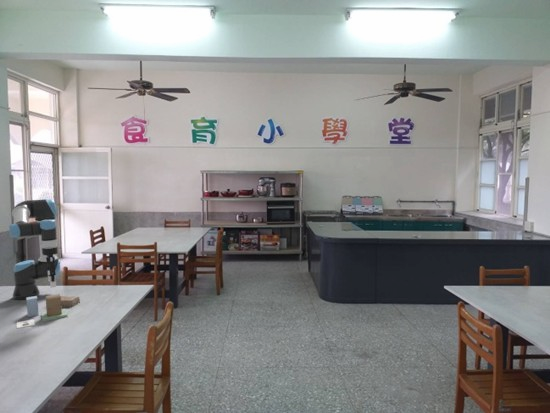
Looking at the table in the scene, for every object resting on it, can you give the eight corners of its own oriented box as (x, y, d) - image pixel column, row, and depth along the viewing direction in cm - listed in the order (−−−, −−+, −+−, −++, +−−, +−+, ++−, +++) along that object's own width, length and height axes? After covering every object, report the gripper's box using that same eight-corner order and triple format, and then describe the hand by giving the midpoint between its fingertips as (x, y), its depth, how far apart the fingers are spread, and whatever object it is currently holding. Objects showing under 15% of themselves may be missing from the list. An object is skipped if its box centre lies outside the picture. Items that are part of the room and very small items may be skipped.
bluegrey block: (27, 314, 225) (26, 297, 224) (38, 312, 228) (36, 295, 227) (27, 317, 220) (26, 299, 220) (38, 315, 223) (37, 298, 222)
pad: (41, 315, 223) (41, 313, 223) (65, 310, 230) (64, 308, 230) (42, 321, 213) (42, 319, 213) (67, 316, 220) (67, 314, 220)
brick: (80, 302, 245) (80, 295, 244) (72, 307, 236) (72, 299, 236) (56, 302, 246) (55, 295, 246) (47, 307, 238) (46, 299, 238)
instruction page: (16, 322, 212) (16, 322, 212) (33, 319, 217) (33, 318, 217) (16, 328, 204) (16, 328, 204) (34, 324, 208) (34, 324, 208)
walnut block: (46, 313, 222) (45, 296, 221) (60, 310, 226) (59, 294, 225) (47, 316, 216) (46, 299, 216) (61, 314, 220) (60, 297, 219)
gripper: (40, 244, 226) (43, 280, 228) (43, 251, 206) (46, 290, 208) (55, 243, 230) (57, 278, 232) (59, 250, 210) (62, 288, 212)
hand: (52, 284), depth 220 cm, fingers open, 13 cm apart
